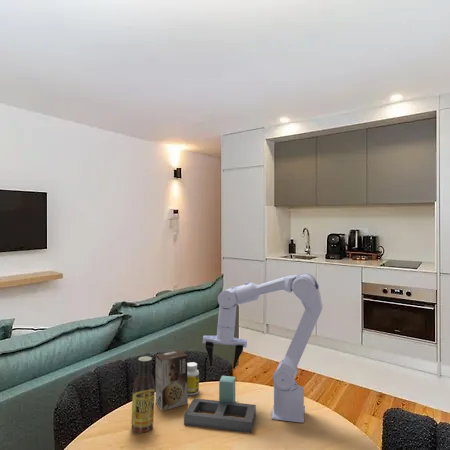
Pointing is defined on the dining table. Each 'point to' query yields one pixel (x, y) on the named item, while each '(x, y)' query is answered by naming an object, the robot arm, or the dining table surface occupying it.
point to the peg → (227, 389)
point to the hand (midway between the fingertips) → (222, 366)
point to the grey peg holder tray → (220, 415)
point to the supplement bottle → (192, 378)
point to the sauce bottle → (143, 397)
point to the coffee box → (171, 379)
